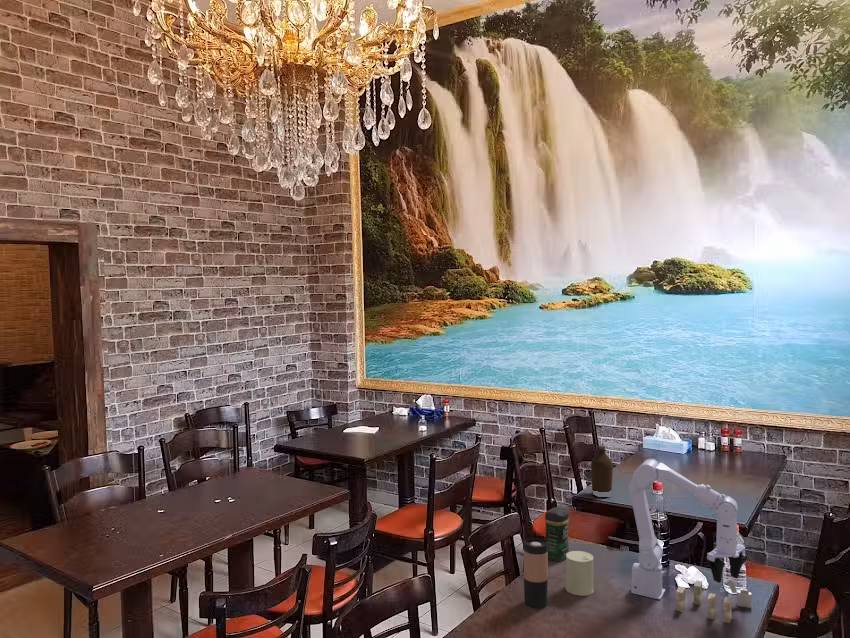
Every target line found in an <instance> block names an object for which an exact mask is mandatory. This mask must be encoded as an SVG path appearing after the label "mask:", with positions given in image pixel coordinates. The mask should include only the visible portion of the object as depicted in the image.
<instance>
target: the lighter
mask: <svg viewBox="0 0 850 638" xmlns="http://www.w3.org/2000/svg"><path fill="white" fill-rule="evenodd" d="M726 583H727V584H728V586H729V588H730V591H731V592H732V594H735V593H736V606H737V607H742V608H750V609H752V592H750V591H749V589H746V588H740V590H739V589H738V590H737V588H736V585H735V583H734V582H733V580H732V578H730V577H729V578H726Z"/></svg>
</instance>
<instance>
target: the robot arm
mask: <svg viewBox="0 0 850 638" xmlns="http://www.w3.org/2000/svg"><path fill="white" fill-rule="evenodd" d="M656 480H657V483H666V482H667V483H670V484H672V485H674V486H676V487H678V488H679V489H682V490H683V491H686V492H687V493H690V494H691V495H692V497H693V500H694V501H696V502H697V503H699V504H701V505H702V506H705V507H707V508H708V509H710V510H711V511H713V512H716V515H717V520H716V546H715V548H714V549H713V550H712V551H710V552H707V553H706V554H707V556H706V557H705V559H706V562H707V564H708V565H709V567H710V570H711V571H710V572H711V574H712V578H713V581H714V582H717V583H718V584H719V583H720V584H721V582H722V578H723V570H724V568H725V565H726V563H725V562H723V561H721V560H722V559H724V558H728V562H729V574H730V576H731V577H733V578H735V579H739V575H740V572H741V568H742V567H743V565H744V563H745V562H746V560H747V556H746V555H745V554H746V547H743V546H741V545H737V541H738V522H737V521H738V518H737V514H738V511H739V510H738V509H739V506H738V503H737V501H736V500H735V499H734V498H732V496H731V495H730V496H729V495H726V494H724V493H722V494H721V493H720V492H718V491H716V490H714V489H712V488H711V485H709V484H706V485H705V484H704V483H701V484H700V483H699V484H697V483H695V482H693V481H691V480H689V479H688V478H686V477H685V476H683V475H682V474H680V473H679V472H676V471H675V470H674V469H672V468H670V467H669V466H668V465H666V464H665V463H663V462H659V460H656V459H655V458H647V459H645V460H644V461H642V463H641V464H640V465H639V466H638V468H636V469H635V470H634V471H633V475H632V477H631V478H630V482H629V483H628V492H629V495H630V501H631V505H632V510H633V514H634V519H635V525H636V528H637V534H638V538H639V541H638V550H639V552H638V553H639V554H638V558H637V560H638V562H634V563H633V565H632V568H631V591H630V593H631V594H634V595H638V596H642V597H646V598H651V599H656V600H662V597H663V596H664V594H665V592H666V588H663V565H662V562H661V559H662V558H663V556H664V550H663V548H662V546H661V545H660V543H659V541H658V538H657V537H656V535H655V531H654V526H653V522H652V521H653V520H652V517H651V511H650V508H649V502H648V497H647V493H646V488H647V487H648V486H649V485H651V484H652V483H654V482H655V481H656Z"/></svg>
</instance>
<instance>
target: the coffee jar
mask: <svg viewBox="0 0 850 638" xmlns="http://www.w3.org/2000/svg"><path fill="white" fill-rule="evenodd" d="M544 521H545V535H544V536H545V537H544V542H545V543H547V550H548V560H550V561H553V562H554V561H557V562H561V561H563V560H565V559H566V554H567V553H568V552H570V551H569V523H570V522H569V521H570V512H569V510H568V509H567V508H565V507H562V506H556V507H553V508H551V509H549V510H547V511H545V515H544Z"/></svg>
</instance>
